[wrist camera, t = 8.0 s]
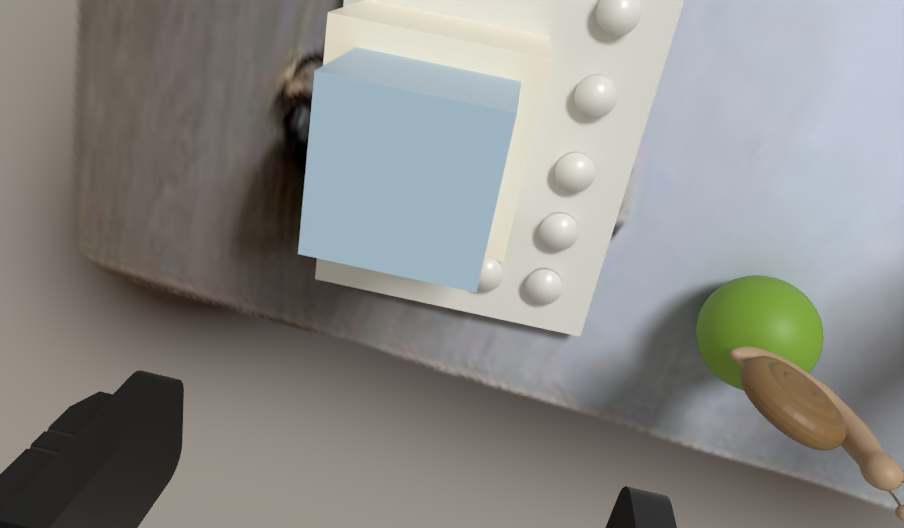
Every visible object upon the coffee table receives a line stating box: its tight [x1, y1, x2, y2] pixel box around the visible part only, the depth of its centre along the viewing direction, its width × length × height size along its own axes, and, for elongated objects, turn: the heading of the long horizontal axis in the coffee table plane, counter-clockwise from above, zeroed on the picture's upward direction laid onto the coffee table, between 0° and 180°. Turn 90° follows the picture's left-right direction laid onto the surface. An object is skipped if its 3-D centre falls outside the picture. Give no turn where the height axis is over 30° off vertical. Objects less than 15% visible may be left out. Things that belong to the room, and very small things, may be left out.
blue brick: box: [298, 47, 521, 293], centre depth 23 cm, size 6×6×5 cm
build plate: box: [315, 0, 684, 337], centre depth 32 cm, size 18×14×2 cm
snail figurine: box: [696, 276, 904, 521], centre depth 29 cm, size 5×6×12 cm
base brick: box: [323, 0, 552, 262], centre depth 28 cm, size 8×8×6 cm
